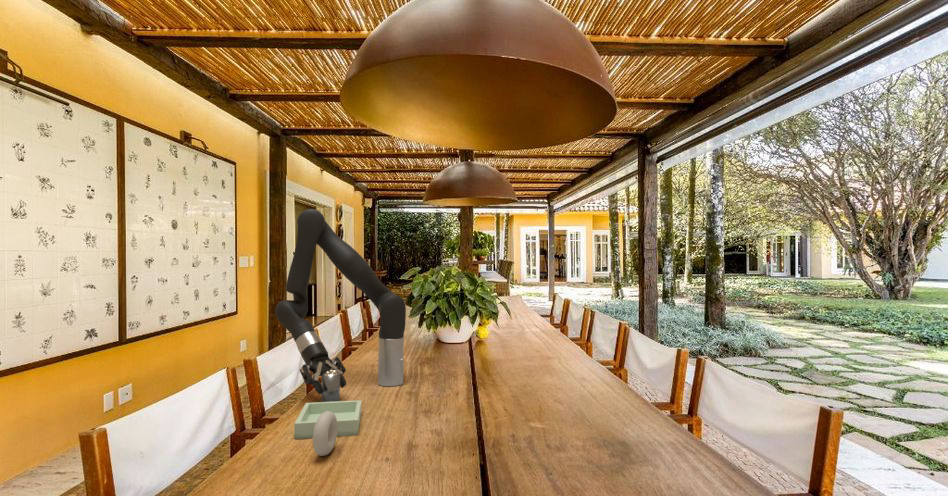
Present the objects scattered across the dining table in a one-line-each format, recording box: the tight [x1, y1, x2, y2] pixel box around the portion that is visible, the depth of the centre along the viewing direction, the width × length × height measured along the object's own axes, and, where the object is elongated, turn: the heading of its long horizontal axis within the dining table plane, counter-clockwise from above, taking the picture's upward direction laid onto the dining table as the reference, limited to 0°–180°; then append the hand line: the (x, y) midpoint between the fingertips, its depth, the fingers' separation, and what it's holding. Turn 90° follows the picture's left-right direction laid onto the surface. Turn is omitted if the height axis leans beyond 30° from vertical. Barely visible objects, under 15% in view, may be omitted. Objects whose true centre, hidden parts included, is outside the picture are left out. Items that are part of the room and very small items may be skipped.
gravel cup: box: [320, 369, 341, 402], centre depth 139 cm, size 6×6×11 cm
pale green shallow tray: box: [293, 399, 362, 440], centre depth 122 cm, size 16×16×4 cm
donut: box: [312, 411, 338, 457], centre depth 105 cm, size 10×4×10 cm, turn 178°
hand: (333, 389), depth 138 cm, fingers open, 8 cm apart
